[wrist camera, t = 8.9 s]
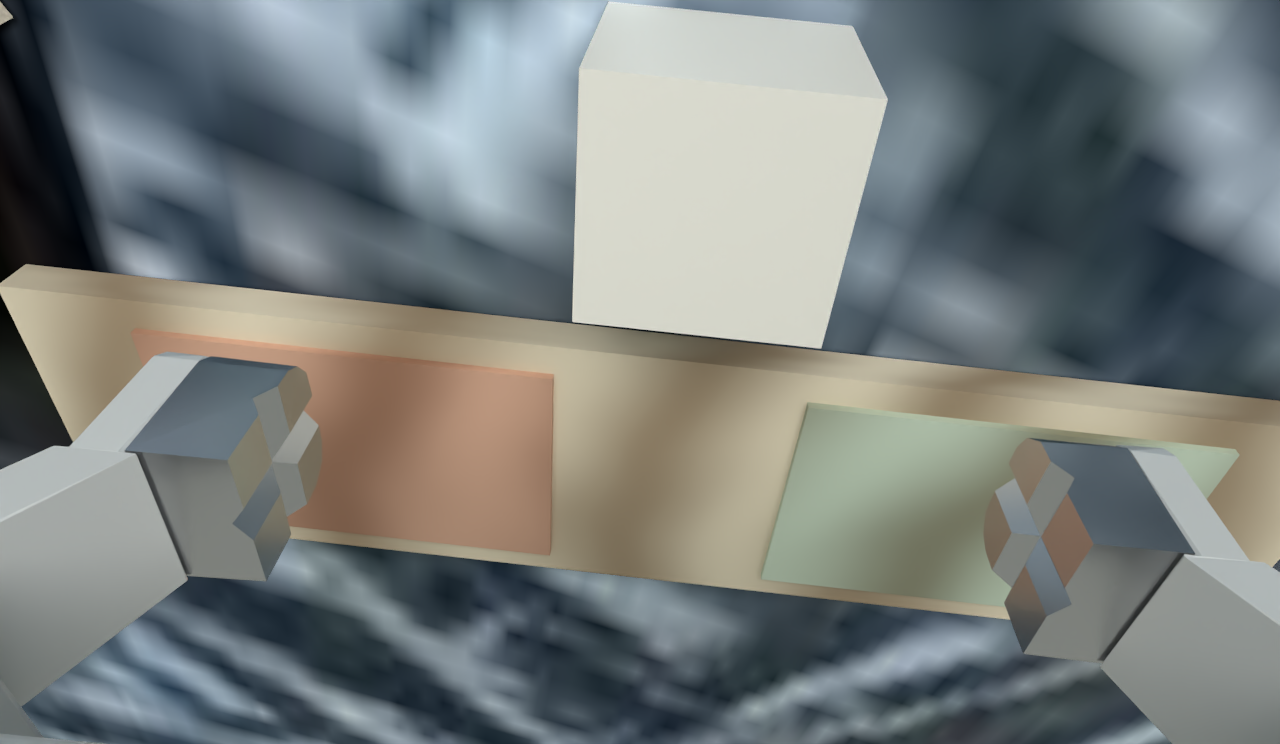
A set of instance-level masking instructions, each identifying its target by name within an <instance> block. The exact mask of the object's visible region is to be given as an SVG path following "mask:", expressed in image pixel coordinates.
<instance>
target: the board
mask: <svg viewBox="0 0 1280 744" xmlns="http://www.w3.org/2000/svg"><path fill="white" fill-rule="evenodd" d="M0 294H1V296H2V298H3V300H4V302H5V304H6V306H7V308H8V310H9V312H10V314H11V316H12V318H13V320H14V322H15V325H16V327H17V329H18V331H19V333H20V335H21V337H22V339H23V341H24V343H25V345H26V347H27V349H28V351H29V353H30V355H31V357H32V359H33V361H34V363H35V365H36V367H37V369H38V371H39V373H40V376H41V378H42V380H43V382H44V384H45V386H46V388H47V390H48V392H49V394H50V396H51V398H52V400H53V402H54V404H55V406H56V408H57V410H58V412H59V414H60V416H61V418H62V420H63V422H64V424H65V427H66V429H67V431H68V433H69V435H70V437H71V439H72V441H73V442H74V441H75V440H76V439H77V438H78V437H79V436H80V435H81V434H82V432H83V431H84V430H85V429H86V428H87V427H88V426H89V425H90V424H91V423H92V422H93V421H94V419H95V418H96V417H97V416H98V415H99V414H100V413H101V412H102V411H103V410H104V409H105V408H106V407H107V405H108V404H109V403H110V402H111V401H112V400H113V399H114V398H115V397H116V396H117V395H118V394H119V392H120V391H121V390H122V389H123V388H124V387H125V386H126V385H127V384H128V383H129V382H130V381H131V380H132V378H133V377H134V376H135V375H136V374H137V373H138V372H139V371H140V370H141V369H142V368H143V367H144V366H145V364H146V363H147V362H148V361H149V360H150V359H151V358H152V357H153V356H155V355H158V354H161V353H164V352H175V353H184V354H193V355H201V356H207V357H211V356H215V357H223V358H232V359H240V360H248V361H257V362H265V363H273V364H282V365H290V366H298V367H299V368H301V369H302V370H303V371H305V372H306V373H307V377H308V381H309V385H310V388H311V392H312V397H311V399H310V400H309V402H308V404H307V405H306V407H305V409H304V411H305V412H306V413H307V414H308V415H309V416H310V417H311V418H312V419H313V420H314V421H315V422H316V423H317V424H318V425H319V429H320V434H321V439H322V464H321V468H320V472H319V477H318V481H317V485H316V487H315V489H314V491H313V493H312V495H311V497H310V499H309V501H308V503H307V504H306V505H305V506H303V507H302V508H300V509H299V510H297V511H295V512H294V513H292V514H291V515H289V516H288V517H287V519H288V523H289V527H290V531H291V536H290V538H291V539H300V540H309V541H318V542H327V543H336V544H344V545H353V546H362V547H371V548H380V549H389V550H398V551H406V552H415V553H424V554H433V555H442V556H451V557H459V558H468V559H477V560H486V561H495V562H504V563H513V564H521V565H530V566H539V567H548V568H557V569H566V570H575V571H583V572H592V573H601V574H610V575H619V576H628V577H637V578H645V579H654V580H663V581H672V582H681V583H690V584H699V585H707V586H716V587H725V588H734V589H743V590H752V591H760V592H769V593H778V594H787V595H796V596H805V597H814V598H822V599H831V600H840V601H849V602H858V603H867V604H876V605H884V606H893V607H902V608H911V609H920V610H929V611H938V612H946V613H955V614H964V615H973V616H982V617H991V618H1000V619H1008V620H1010V617H1009V615H1008V612H1007V609H1006V607H1005V604H1004V602H1005V600H1006V598H1007V596H1008V594H1009V592H1010V590H1011V587H1010V586H1009V585H1008V584H1007V583H1006V582H1005V581H1004V580H1002V579H1001V578H1000V577H999V576H998V575H997V574H996V573H995V572H994V571H992V569H991V566H990V563H989V560H988V557H987V554H986V551H985V543H984V536H983V532H984V522H985V513H986V510H987V507H988V505H989V503H990V501H991V498H992V496H993V494H994V492H995V490H997V489H999V488H1000V487H1002V486H1003V485H1005V484H1007V483H1008V482H1010V481H1011V480H1013V479H1015V477H1014V474H1013V472H1012V470H1011V467H1010V465H1009V461H1010V460H1011V458H1012V456H1013V454H1014V452H1015V450H1016V448H1017V446H1019V445H1020V444H1021V443H1022V442H1023V441H1024V440H1025V439H1026V438H1036V439H1047V440H1058V441H1069V442H1080V443H1091V444H1102V445H1111V446H1116V445H1127V446H1140V447H1153V448H1164V449H1165V450H1167V451H1169V452H1170V453H1172V454H1173V455H1175V456H1176V457H1177V458H1178V460H1179V461H1180V462H1181V464H1182V465H1183V467H1184V468H1185V469H1186V471H1187V472H1188V474H1189V475H1190V477H1191V478H1192V479H1193V481H1194V482H1195V484H1196V485H1197V487H1198V488H1199V489H1200V491H1201V492H1202V494H1203V495H1204V496H1205V498H1206V499H1207V501H1208V502H1209V504H1210V505H1211V506H1212V508H1213V509H1214V511H1215V512H1216V513H1217V515H1218V516H1219V518H1220V519H1221V521H1222V522H1223V523H1224V525H1225V526H1226V528H1227V529H1228V531H1229V532H1230V533H1231V535H1232V536H1233V538H1234V539H1235V540H1236V542H1237V543H1238V545H1239V546H1240V548H1241V549H1242V550H1243V552H1244V553H1245V555H1246V556H1247V558H1248V559H1249V560H1250V561H1255V562H1264V563H1266V564H1268V565H1269V566H1271V567H1273V566H1274V565H1275V564H1276V562H1277V561H1278V560H1279V559H1280V401H1277V400H1267V399H1258V398H1249V397H1240V396H1231V395H1222V394H1212V393H1203V392H1194V391H1185V390H1176V389H1167V388H1157V387H1148V386H1139V385H1130V384H1121V383H1112V382H1102V381H1093V380H1084V379H1075V378H1066V377H1057V376H1047V375H1038V374H1029V373H1020V372H1011V371H1002V370H992V369H983V368H974V367H965V366H956V365H947V364H937V363H928V362H919V361H910V360H901V359H892V358H882V357H873V356H864V355H855V354H846V353H837V352H827V351H818V350H809V349H800V348H791V347H782V346H772V345H763V344H754V343H745V342H736V341H726V340H717V339H708V338H699V337H690V336H681V335H671V334H662V333H653V332H644V331H635V330H626V329H616V328H607V327H598V326H589V325H580V324H571V323H561V322H552V321H543V320H534V319H525V318H516V317H506V316H497V315H488V314H479V313H470V312H461V311H451V310H442V309H433V308H424V307H415V306H406V305H396V304H387V303H378V302H369V301H360V300H351V299H341V298H332V297H323V296H314V295H305V294H296V293H286V292H277V291H268V290H259V289H250V288H241V287H231V286H222V285H213V284H204V283H195V282H186V281H176V280H167V279H158V278H149V277H140V276H131V275H121V274H112V273H103V272H94V271H85V270H76V269H66V268H57V267H48V266H39V265H30V264H25V265H24V266H23V267H21V268H20V269H19V270H17V271H16V272H15V273H13V274H12V275H11V276H9V277H8V278H7V279H5V280H4V281H3V282H1V283H0Z"/></svg>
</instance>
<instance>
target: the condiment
mask: <svg viewBox="0 0 1280 744" xmlns="http://www.w3.org/2000/svg"><path fill="white" fill-rule="evenodd" d="M12 18H13V17H12V15H11V14H10V13H9V12H8V11H7V10H6V8H5V7H4V6H3V4H2V3H1V2H0V25H1V24H2V23H4V22H6V21H8V20H10V19H12Z"/></svg>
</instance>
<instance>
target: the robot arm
mask: <svg viewBox="0 0 1280 744" xmlns="http://www.w3.org/2000/svg"><path fill="white" fill-rule="evenodd" d="M311 397H312V392H311V388H310V385H309V381H308V377H307V373H306V372H305V371H303V370H302V369H301V368H299V367H298V366H290V365H282V364H273V363H265V362H257V361H248V360H240V359H232V358H223V357H215V356H211V357H207V356H201V355H193V354H184V353H175V352H164V353H161V354H158V355H155V356H153V357H152V358H151V359H150V360H149V361H148V362H147V363H146V364H145V366H144V367H143V368H142V369H141V370H140V371H139V372H138V373H137V374H136V375H135V376H134V377H133V378H132V380H131V381H130V382H129V383H128V384H127V385H126V386H125V387H124V388H123V389H122V390H121V391H120V392H119V394H118V395H117V396H116V397H115V398H114V399H113V400H112V401H111V402H110V403H109V404H108V405H107V407H106V408H105V409H104V410H103V411H102V412H101V413H100V414H99V415H98V416H97V417H96V418H95V419H94V421H93V422H92V423H91V424H90V425H89V426H88V427H87V428H86V429H85V430H84V431H83V432H82V434H81V435H80V436H79V437H78V438H77V439H76V440H75V441H74V442H73V443H72V444H71V445H70V446H69V447H63V446H52V447H50V448H48V449H46V450H43V451H41V452H39V453H37V454H34V455H32V456H30V457H28V458H25V459H23V460H21V461H19V462H16V463H14V464H12V465H10V466H8V467H5V468H3V469H1V470H0V744H104V743H93V742H83V741H72V740H61V739H51V738H43V736H42V735H41V734H40V732H39V731H38V729H37V728H36V727H35V725H34V724H33V723H32V721H31V720H30V718H29V717H28V716H27V714H26V713H25V712H24V710H23V709H22V707H21V706H23V705H24V704H25V703H27V702H28V701H29V700H31V699H32V698H33V697H35V696H36V695H37V694H38V693H40V692H41V691H42V690H44V689H45V688H46V687H48V686H49V685H50V684H52V683H53V682H54V681H56V680H57V679H58V678H60V677H61V676H62V675H63V674H65V673H66V672H67V671H69V670H70V669H71V668H73V667H74V666H75V665H77V664H78V663H79V662H81V661H82V660H83V659H85V658H86V657H87V656H89V655H90V654H91V653H92V652H94V651H95V650H96V649H98V648H99V647H100V646H102V645H103V644H104V643H106V642H107V641H108V640H110V639H111V638H112V637H114V636H115V635H116V634H117V633H119V632H120V631H121V630H123V629H124V628H125V627H127V626H128V625H129V624H131V623H132V622H133V621H135V620H136V619H137V618H139V617H140V616H141V615H142V614H144V613H145V612H146V611H148V610H149V609H150V608H152V607H153V606H154V605H156V604H157V603H158V602H160V601H161V600H162V599H164V598H165V597H166V596H167V595H169V594H170V593H171V592H173V591H174V590H175V589H177V588H178V587H179V586H181V585H182V584H183V583H185V582H186V581H187V579H188V578H187V576H197V577H212V578H226V579H241V580H255V581H267V579H268V577H269V575H270V573H271V571H272V570H273V568H274V566H275V564H276V562H277V560H278V558H279V556H280V555H281V553H282V551H283V549H284V547H285V545H286V543H287V541H288V539H289V538H290V536H291V531H290V527H289V523H288V519H287V517H288V516H289V515H291V514H292V513H294V512H295V511H297V510H299V509H300V508H302V507H303V506H305V505H306V504H307V503H308V501H309V499H310V497H311V495H312V493H313V491H314V489H315V487H316V485H317V481H318V477H319V472H320V468H321V464H322V439H321V434H320V429H319V425H318V424H317V423H316V422H315V421H314V420H313V419H312V418H311V417H310V416H309V415H308V414H307V413H306V412H305V411H304V409H305V407H306V405H307V404H308V402H309V400H310V399H311ZM1009 465H1010V467H1011V470H1012V472H1013V474H1014V477H1015V479H1013V480H1011V481H1010V482H1008V483H1007V484H1005V485H1003V486H1002V487H1000V488H999V489H997V490H995V492H994V494H993V496H992V498H991V501H990V503H989V505H988V507H987V510H986V513H985V522H984V532H983V536H984V543H985V551H986V554H987V557H988V560H989V563H990V566H991V569H992V571H994V572H995V573H996V574H997V575H998V576H999V577H1000V578H1001V579H1002V580H1004V581H1005V582H1006V583H1007V584H1008V585H1009V586H1010V587H1011V590H1010V592H1009V594H1008V596H1007V598H1006V600H1005V602H1004V604H1005V607H1006V609H1007V612H1008V615H1009V617H1010V620H1011V623H1012V625H1013V628H1014V630H1015V633H1016V636H1017V638H1018V641H1019V644H1020V646H1021V649H1022V652H1023V654H1029V655H1038V656H1046V657H1054V658H1062V659H1070V660H1079V661H1087V662H1095V663H1102V664H1101V666H1100V668H1101V669H1102V670H1103V671H1104V672H1105V673H1106V674H1107V675H1108V676H1109V677H1110V678H1111V679H1112V680H1113V681H1114V682H1115V683H1116V685H1117V686H1118V687H1119V688H1120V689H1121V690H1122V691H1123V692H1124V693H1125V694H1126V695H1127V696H1128V697H1129V698H1130V699H1131V700H1132V702H1133V703H1134V704H1135V705H1136V706H1137V707H1138V708H1139V709H1140V710H1141V711H1142V712H1143V713H1144V714H1145V715H1146V716H1147V717H1148V718H1149V720H1150V721H1151V722H1152V723H1153V724H1154V725H1155V726H1156V727H1157V728H1158V729H1159V730H1160V731H1161V732H1162V733H1163V734H1164V735H1165V736H1166V738H1167V739H1168V740H1169V741H1170V742H1171V743H1172V744H1280V572H1278V571H1277V570H1275V569H1274V568H1272V567H1271V566H1269V565H1268V564H1266V563H1264V562H1255V561H1250V560H1249V559H1248V558H1247V556H1246V555H1245V553H1244V552H1243V550H1242V549H1241V548H1240V546H1239V545H1238V543H1237V542H1236V540H1235V539H1234V538H1233V536H1232V535H1231V533H1230V532H1229V531H1228V529H1227V528H1226V526H1225V525H1224V523H1223V522H1222V521H1221V519H1220V518H1219V516H1218V515H1217V513H1216V512H1215V511H1214V509H1213V508H1212V506H1211V505H1210V504H1209V502H1208V501H1207V499H1206V498H1205V496H1204V495H1203V494H1202V492H1201V491H1200V489H1199V488H1198V487H1197V485H1196V484H1195V482H1194V481H1193V479H1192V478H1191V477H1190V475H1189V474H1188V472H1187V471H1186V469H1185V468H1184V467H1183V465H1182V464H1181V462H1180V461H1179V460H1178V458H1177V457H1176V456H1175V455H1173V454H1172V453H1170V452H1169V451H1167V450H1165V449H1164V448H1153V447H1140V446H1127V445H1116V446H1111V445H1102V444H1091V443H1080V442H1069V441H1058V440H1047V439H1036V438H1026V439H1025V440H1024V441H1023V442H1022V443H1021V444H1020V445H1019V446H1017V448H1016V450H1015V452H1014V454H1013V456H1012V458H1011V460H1010V461H1009Z"/></svg>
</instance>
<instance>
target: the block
mask: <svg viewBox="0 0 1280 744" xmlns="http://www.w3.org/2000/svg"><path fill="white" fill-rule="evenodd" d="M887 101H888V99H887V97H886V95H885V93H884V91H883V88H882V86H881V84H880V82H879V80H878V78H877V76H876V74H875V72H874V70H873V68H872V66H871V63H870V61H869V59H868V57H867V55H866V53H865V51H864V49H863V47H862V45H861V43H860V40H859V38H858V36H857V34H856V32H855V30H854V28H853V26H847V25H837V24H827V23H817V22H807V21H797V20H787V19H777V18H767V17H757V16H747V15H737V14H727V13H717V12H708V11H698V10H688V9H678V8H668V7H658V6H648V5H638V4H628V3H618V2H608V4H607V6H606V8H605V10H604V13H603V15H602V17H601V19H600V22H599V24H598V26H597V29H596V31H595V33H594V35H593V38H592V40H591V42H590V45H589V47H588V49H587V51H586V54H585V56H584V58H583V60H582V63H581V65H580V67H579V92H578V129H577V165H576V201H575V237H574V274H573V310H572V322H577V323H587V324H596V325H606V326H615V327H624V328H634V329H643V330H652V331H662V332H671V333H680V334H690V335H699V336H708V337H718V338H727V339H736V340H746V341H755V342H764V343H774V344H783V345H792V346H802V347H811V348H820V349H821V347H822V343H823V340H824V336H825V332H826V328H827V325H828V321H829V317H830V314H831V310H832V306H833V302H834V299H835V295H836V291H837V287H838V284H839V280H840V276H841V272H842V269H843V265H844V261H845V258H846V254H847V250H848V246H849V243H850V239H851V235H852V231H853V228H854V224H855V220H856V216H857V213H858V209H859V205H860V201H861V198H862V194H863V190H864V187H865V183H866V179H867V175H868V172H869V168H870V164H871V160H872V157H873V153H874V149H875V145H876V142H877V138H878V134H879V131H880V127H881V123H882V119H883V116H884V112H885V108H886V104H887Z"/></svg>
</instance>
